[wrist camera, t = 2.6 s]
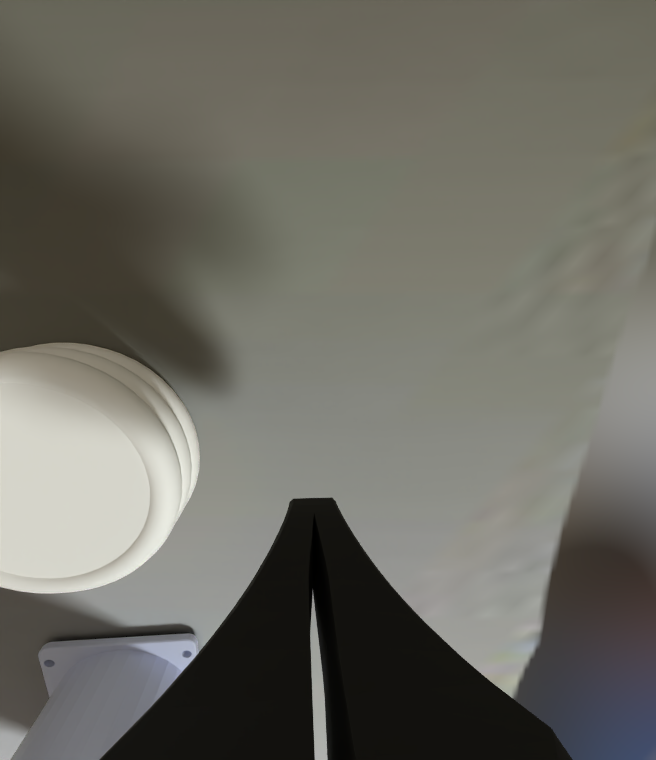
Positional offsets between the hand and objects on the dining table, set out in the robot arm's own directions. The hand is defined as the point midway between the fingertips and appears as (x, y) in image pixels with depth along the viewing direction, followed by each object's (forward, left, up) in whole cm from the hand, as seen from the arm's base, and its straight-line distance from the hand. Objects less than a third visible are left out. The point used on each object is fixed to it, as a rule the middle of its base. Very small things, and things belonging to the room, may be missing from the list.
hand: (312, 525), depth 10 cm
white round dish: (0, +10, -6) cm, 12 cm away
